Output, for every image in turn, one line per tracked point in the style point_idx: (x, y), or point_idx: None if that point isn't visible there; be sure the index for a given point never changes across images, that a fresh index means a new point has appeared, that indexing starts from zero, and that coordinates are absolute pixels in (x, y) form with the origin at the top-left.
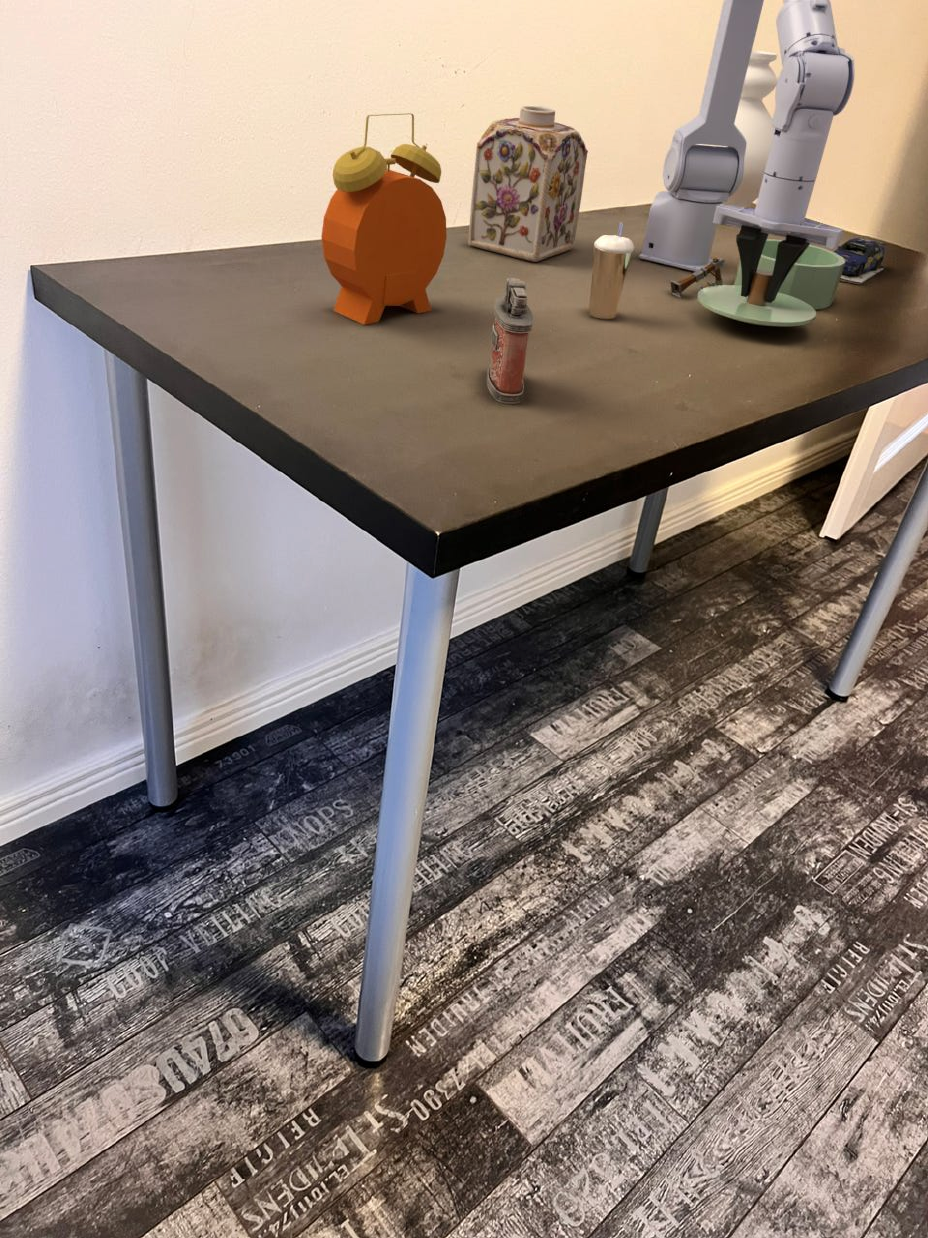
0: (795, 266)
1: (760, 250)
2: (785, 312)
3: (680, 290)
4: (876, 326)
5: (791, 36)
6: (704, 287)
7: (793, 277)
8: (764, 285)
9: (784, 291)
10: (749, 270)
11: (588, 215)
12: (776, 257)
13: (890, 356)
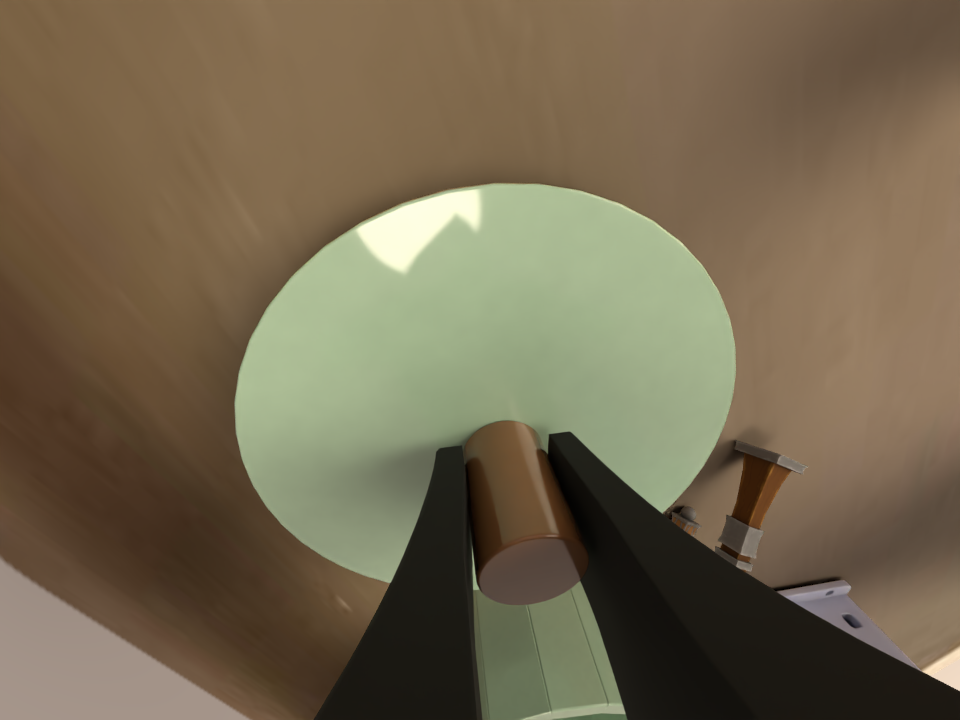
0: (494, 717)
1: (642, 713)
2: (358, 440)
3: (755, 451)
4: (253, 634)
5: None
6: (690, 523)
7: (485, 673)
8: (491, 495)
9: (492, 618)
10: (613, 520)
11: (918, 664)
12: (467, 691)
13: (18, 494)
